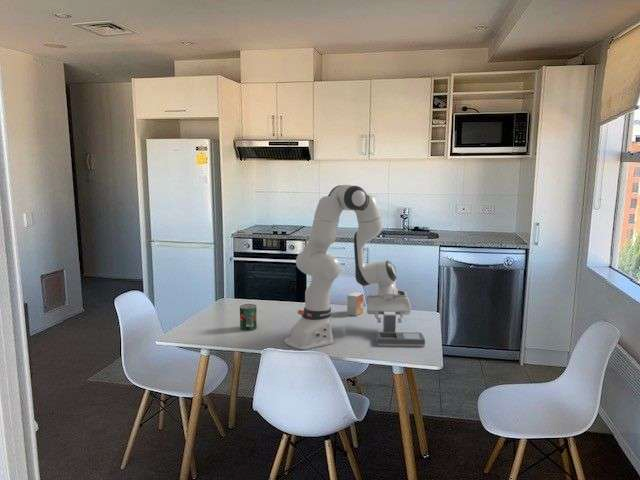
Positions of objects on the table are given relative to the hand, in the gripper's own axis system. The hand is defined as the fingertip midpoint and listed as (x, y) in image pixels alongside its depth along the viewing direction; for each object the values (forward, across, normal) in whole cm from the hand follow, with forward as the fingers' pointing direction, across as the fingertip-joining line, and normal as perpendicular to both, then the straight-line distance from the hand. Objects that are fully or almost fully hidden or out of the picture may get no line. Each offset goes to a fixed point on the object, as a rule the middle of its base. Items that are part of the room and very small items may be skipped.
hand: (389, 322), depth 222 cm
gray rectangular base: (+12, +4, -3) cm, 12 cm away
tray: (+4, 0, +5) cm, 6 cm away
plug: (+4, 0, +4) cm, 6 cm away
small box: (-19, -14, +28) cm, 37 cm away
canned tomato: (0, -66, +10) cm, 66 cm away
